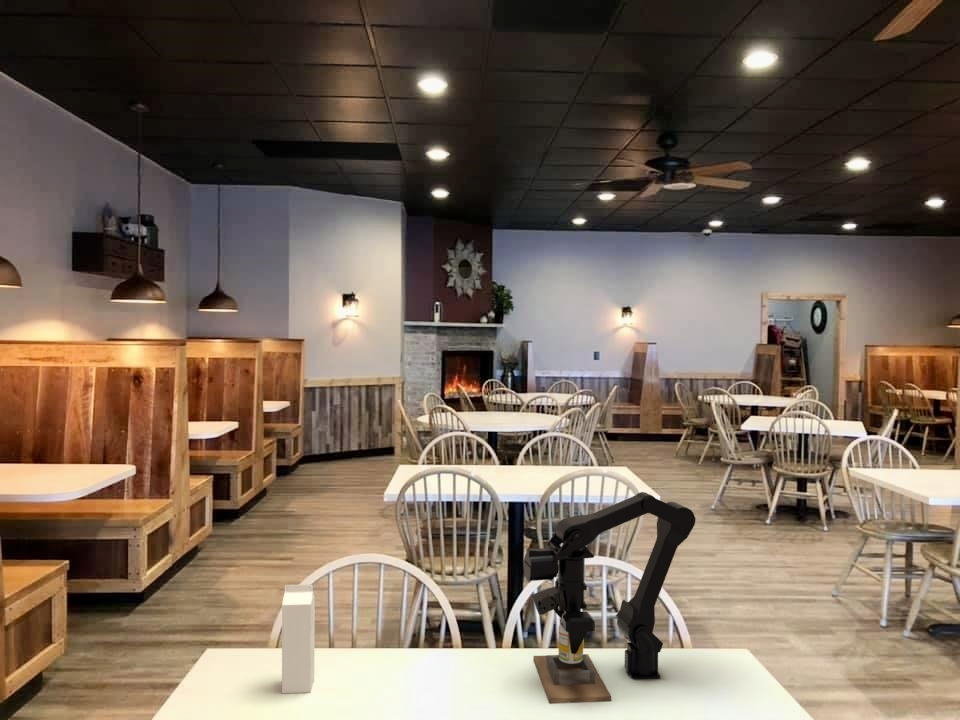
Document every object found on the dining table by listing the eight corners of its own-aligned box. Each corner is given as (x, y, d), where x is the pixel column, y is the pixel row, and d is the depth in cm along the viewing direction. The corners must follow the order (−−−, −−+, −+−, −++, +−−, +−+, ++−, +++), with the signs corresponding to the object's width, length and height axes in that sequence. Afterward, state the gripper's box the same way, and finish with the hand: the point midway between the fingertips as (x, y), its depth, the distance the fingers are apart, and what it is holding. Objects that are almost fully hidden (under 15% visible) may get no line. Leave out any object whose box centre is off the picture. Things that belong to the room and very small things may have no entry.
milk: (286, 680, 155) (286, 580, 155) (314, 679, 156) (314, 579, 155) (281, 694, 149) (281, 589, 149) (311, 693, 150) (310, 588, 149)
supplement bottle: (582, 654, 159) (582, 611, 159) (583, 665, 154) (583, 620, 153) (558, 653, 160) (558, 610, 159) (558, 663, 154) (558, 619, 154)
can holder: (588, 658, 167) (588, 643, 167) (611, 700, 147) (611, 684, 147) (533, 660, 166) (533, 645, 166) (549, 703, 146) (549, 686, 146)
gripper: (528, 565, 165) (528, 631, 165) (542, 593, 146) (542, 668, 147) (575, 564, 166) (575, 630, 166) (595, 592, 147) (595, 666, 148)
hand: (570, 647), depth 157 cm, fingers closed on supplement bottle, 5 cm apart
